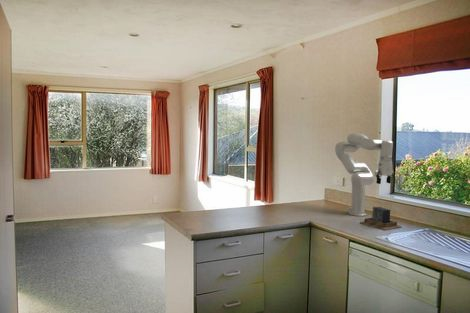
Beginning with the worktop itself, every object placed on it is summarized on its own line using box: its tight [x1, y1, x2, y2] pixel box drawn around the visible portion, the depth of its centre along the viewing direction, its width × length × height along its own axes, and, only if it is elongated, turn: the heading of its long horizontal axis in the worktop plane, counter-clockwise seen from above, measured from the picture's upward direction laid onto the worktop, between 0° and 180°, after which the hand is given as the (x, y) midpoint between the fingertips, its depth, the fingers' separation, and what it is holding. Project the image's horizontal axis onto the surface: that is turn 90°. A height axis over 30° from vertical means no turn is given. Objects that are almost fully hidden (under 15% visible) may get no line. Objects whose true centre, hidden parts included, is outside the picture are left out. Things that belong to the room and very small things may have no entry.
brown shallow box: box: [359, 217, 402, 231], centre depth 252 cm, size 20×16×4 cm
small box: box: [371, 206, 391, 223], centre depth 252 cm, size 11×6×10 cm, turn 17°
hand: (383, 183), depth 262 cm, fingers open, 9 cm apart
